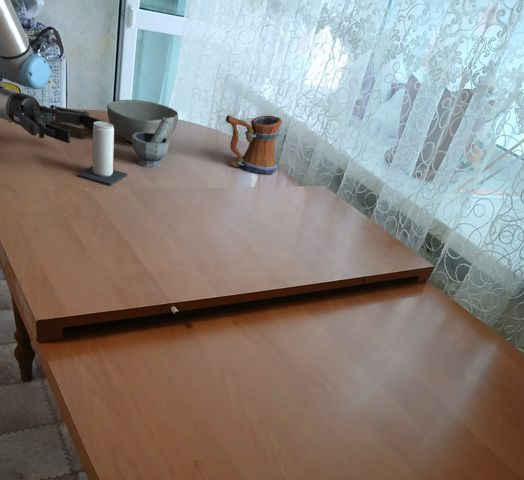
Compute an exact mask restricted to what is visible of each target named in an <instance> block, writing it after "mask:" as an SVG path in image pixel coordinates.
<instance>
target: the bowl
mask: <svg viewBox="0 0 524 480" xmlns="http://www.w3.org/2000/svg"><path fill="white" fill-rule="evenodd" d="M106 110H107V118H108V121H109V123H111V124H113V128H114V132H115V133H116V134H118V135H119V136H120V137H122V138H123V139H124V140H126V141H127V142H131V143H132V136H133V135H134V134H135V133H140V132H147V133H155V132H156V130H157V128H158V126H159V124H160V122H161V118H162V117H165V118H167V119H169V120H170V121H171V125H169V127H168V129H167V131H166V134H165V136H164V137H166V138H167V139H169V137H170V136H171V135H172V134H173V133H174V132H175V129H176V128H177V125H178V122H179V121H178V120H179V113H178V111H177V110H175V109H174V108H171V107H169V106H167V105H164V104H160V103H156V102H152V101H148V100H147V101H146V100H139V99H120V100H114V101H112V102H109V103H108V104H107V105H106Z"/></svg>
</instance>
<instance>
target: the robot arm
mask: <svg viewBox="0 0 524 480" xmlns="http://www.w3.org/2000/svg"><path fill="white" fill-rule="evenodd" d="M26 34H27V33H26V32H25V29H24V27H23V26H22V23H21V21H20V19H19V16H18V14H17V12H16V10H15V7H14V5H13V3H12V1H11V0H0V119H2V120H5V121H8V123H9V124H12V123H14V124H16V125H18V126H20V127H22V128H23V129H24V130H25V131H26V132H27V133H29V134H30V135H31V136H34V137H35V136H36V137H37V135H38V138H39V139H45V136H46V137H49V138H52V139H55V140H58V141H60V142H63V143H66V144H71V136H70V131H69V130H66V129H63V128H60V127H57V126H54V125H52V124H49V123H54V124H58V123H59V122H63V123H72V124H82V125H83V126H84V127H87V128H90V129H93V125H94V122H97V121H102V122H106V120H102V119H99V118H96V117H93V116H91V115H90V112H88V111H87V110H78V109H72V108H66V107H60V106H57V105H54V104H50V105H49V107H48V106H47V105H41V104H40V103H39V101H38V99H37V98H35V97H34V96H32V95H29V94H27V93H23V92H20V91H18V90H15V89H12V88H9V87H5V86H4V85H3V80H7V81H10V82H12V83H14V84H17V85H20V86H22V87H24V88H29V89H33V90H42V89H43V88H44V87H46V86H47V85H48V83H49V81H50V77H51V68H50V64H49V63H48V61H47V60H46V58H45V57H43V56H41V55H40V54H38V53H35V52H34V50H33V48H32V46H31V44H30V41H29V38H28V37H27V35H26ZM53 118H55V120H53Z"/></svg>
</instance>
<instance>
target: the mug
mask: <svg viewBox="0 0 524 480" xmlns="http://www.w3.org/2000/svg"><path fill="white" fill-rule="evenodd" d="M225 122H226V123H227V124H230V125H231V128H232V135H231V136H232V137H231V139H230V150H231V151H232V153H233V154H235V155H236V157H237V160H235V161H232V162H231V163H230V164H231V165H232V167H233V168H241V169H243V170H244V171H246V172H249V173H251V174H252V173H253V174H257V175H274V173H276V172H277V169H278V165H277V163H276V157H275V155H276V154H275V150H276V149H275V148H276V140H277V137H278V135H279V130H280V128H281V125H282V124H283V120H282V119H281V117H279V116H275V115H260V116H257V117H254V118H253V119H251V121H250V123H248V122H247V121H245V120H243V119H240V118H236V117H234V116H231V115H229V114H228V115H226V117H225ZM237 126H242V127H245V129H246V131H245V132H244V134H245V139H246V141H247V142H248V143H249V144H248V148H247V149H246V151H245V153H244V154H243V155H242V154H241V152H240V151H239V149H238V148H237V146H238V142H239V130H238V127H237Z"/></svg>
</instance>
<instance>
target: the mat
mask: <svg viewBox="0 0 524 480" xmlns="http://www.w3.org/2000/svg"><path fill="white" fill-rule="evenodd" d="M76 177H77V178H81V179H85V180H88V181H92V182H95V183H99V184H102V185H106V186H109V187H111V186H113V185H114V184H116V183H119V182H120V181H121V180H123V179H125V178H126V177H128V173H126V172H122V171H119V170H116V169H113V173H112V175H111V176H108V177H102V176H98V175H96V174H95V173H94V172H93V165H91V166H90V167H87V168H86V169H84V170H82V171H79V172H78V173H76Z"/></svg>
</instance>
